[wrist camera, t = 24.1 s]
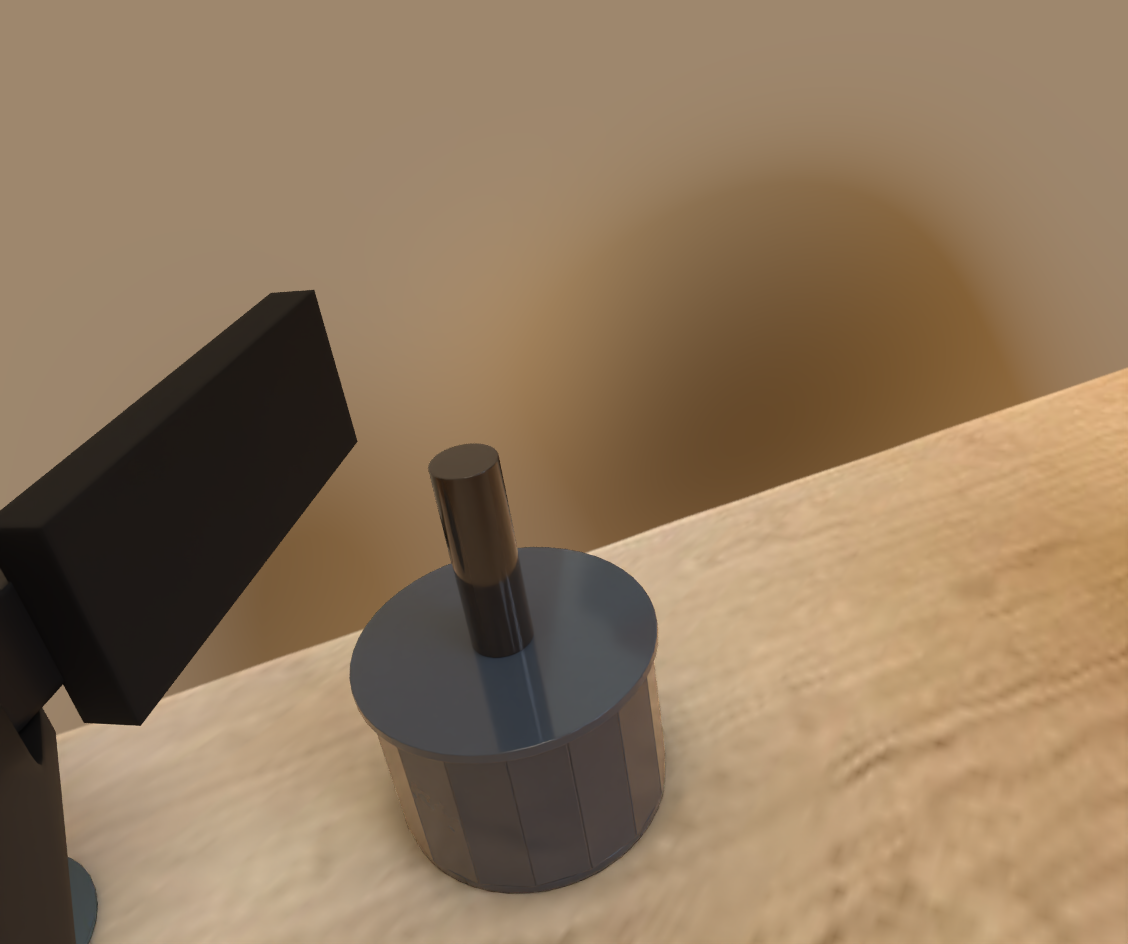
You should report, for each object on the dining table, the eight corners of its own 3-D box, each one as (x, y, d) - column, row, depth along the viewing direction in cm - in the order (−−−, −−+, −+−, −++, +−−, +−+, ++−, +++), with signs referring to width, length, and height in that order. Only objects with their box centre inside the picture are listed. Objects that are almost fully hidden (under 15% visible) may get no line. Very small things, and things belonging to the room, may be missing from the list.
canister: (622, 662, 53) (603, 536, 48) (703, 844, 42) (689, 702, 38) (397, 724, 51) (357, 599, 47) (422, 930, 40) (373, 791, 36)
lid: (610, 538, 49) (585, 359, 44) (705, 718, 38) (686, 503, 33) (349, 605, 47) (291, 427, 42) (363, 816, 36) (287, 605, 31)
